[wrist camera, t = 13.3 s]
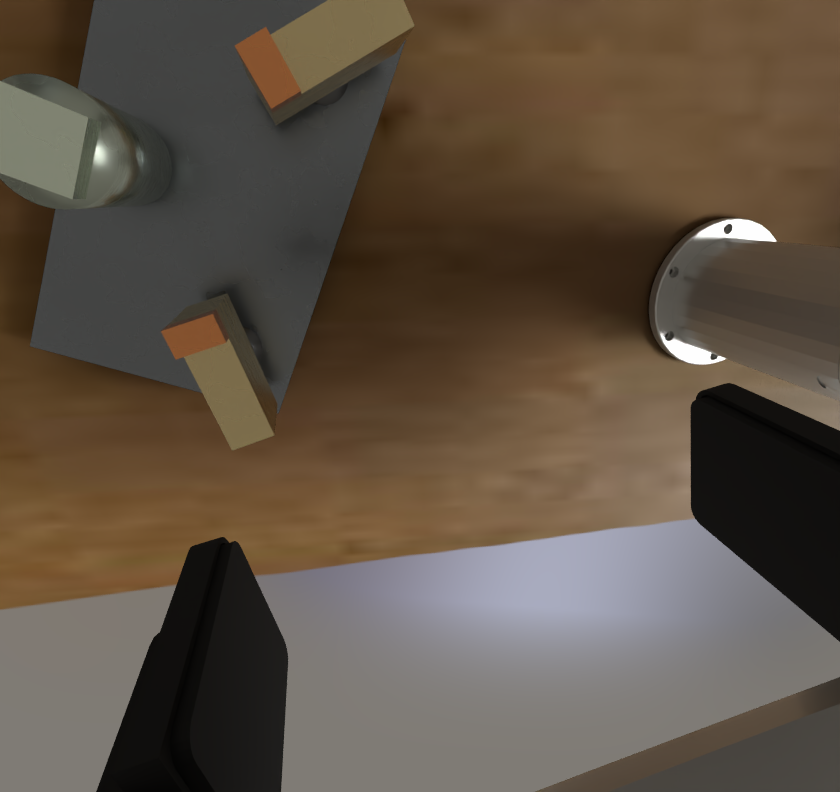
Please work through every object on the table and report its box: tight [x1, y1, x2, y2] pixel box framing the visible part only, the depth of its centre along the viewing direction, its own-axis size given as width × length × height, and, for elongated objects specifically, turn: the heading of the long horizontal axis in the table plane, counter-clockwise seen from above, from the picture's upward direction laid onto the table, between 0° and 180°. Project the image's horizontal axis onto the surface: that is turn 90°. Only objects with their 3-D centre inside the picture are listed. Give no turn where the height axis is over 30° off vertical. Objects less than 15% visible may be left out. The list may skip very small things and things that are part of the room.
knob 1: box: [161, 293, 278, 451], centre depth 31 cm, size 8×3×8 cm, turn 16°
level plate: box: [0, 0, 406, 413], centre depth 27 cm, size 16×26×13 cm, turn 157°
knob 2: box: [235, 0, 415, 125], centre depth 26 cm, size 8×3×8 cm, turn 119°
